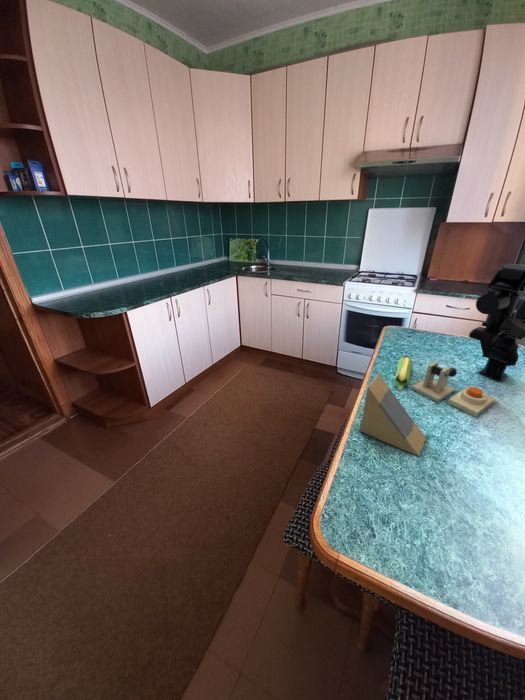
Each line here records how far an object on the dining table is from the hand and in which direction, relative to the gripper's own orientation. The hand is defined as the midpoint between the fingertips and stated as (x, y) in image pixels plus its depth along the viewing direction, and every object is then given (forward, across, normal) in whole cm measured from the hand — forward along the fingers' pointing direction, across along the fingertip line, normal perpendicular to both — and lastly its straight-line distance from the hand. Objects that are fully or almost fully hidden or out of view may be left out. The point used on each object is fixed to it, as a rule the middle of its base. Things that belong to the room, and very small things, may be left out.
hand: (485, 353), depth 95 cm
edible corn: (+12, -16, +17) cm, 26 cm away
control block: (+12, -12, -4) cm, 18 cm away
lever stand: (+12, -15, +6) cm, 20 cm away
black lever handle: (+8, -10, +6) cm, 14 cm away
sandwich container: (+12, -44, +1) cm, 46 cm away
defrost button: (+9, -12, -5) cm, 16 cm away
